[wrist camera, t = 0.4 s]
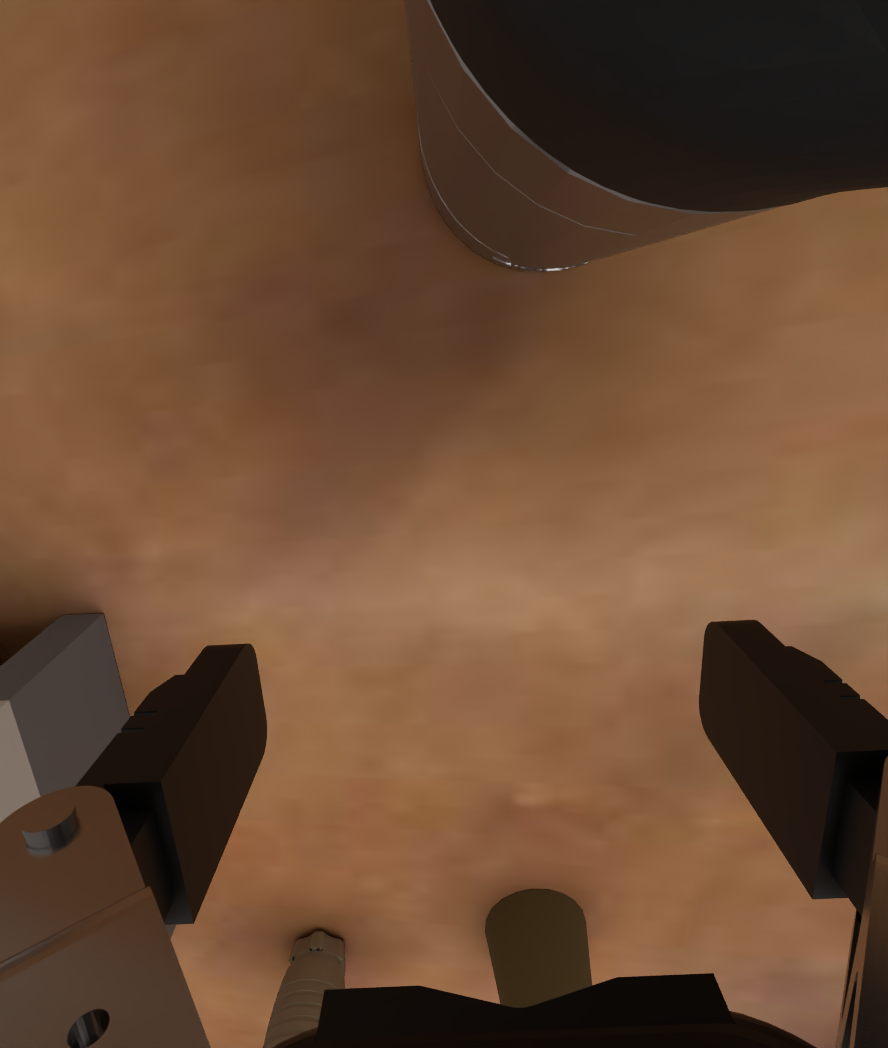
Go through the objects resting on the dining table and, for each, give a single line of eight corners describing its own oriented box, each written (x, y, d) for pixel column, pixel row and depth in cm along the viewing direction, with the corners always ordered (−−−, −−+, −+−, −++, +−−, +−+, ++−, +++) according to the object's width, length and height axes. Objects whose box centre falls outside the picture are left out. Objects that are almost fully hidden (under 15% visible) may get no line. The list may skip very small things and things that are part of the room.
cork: (475, 955, 38) (489, 1199, 28) (497, 882, 36) (520, 1115, 26) (571, 967, 38) (620, 1212, 28) (597, 896, 36) (661, 1131, 26)
